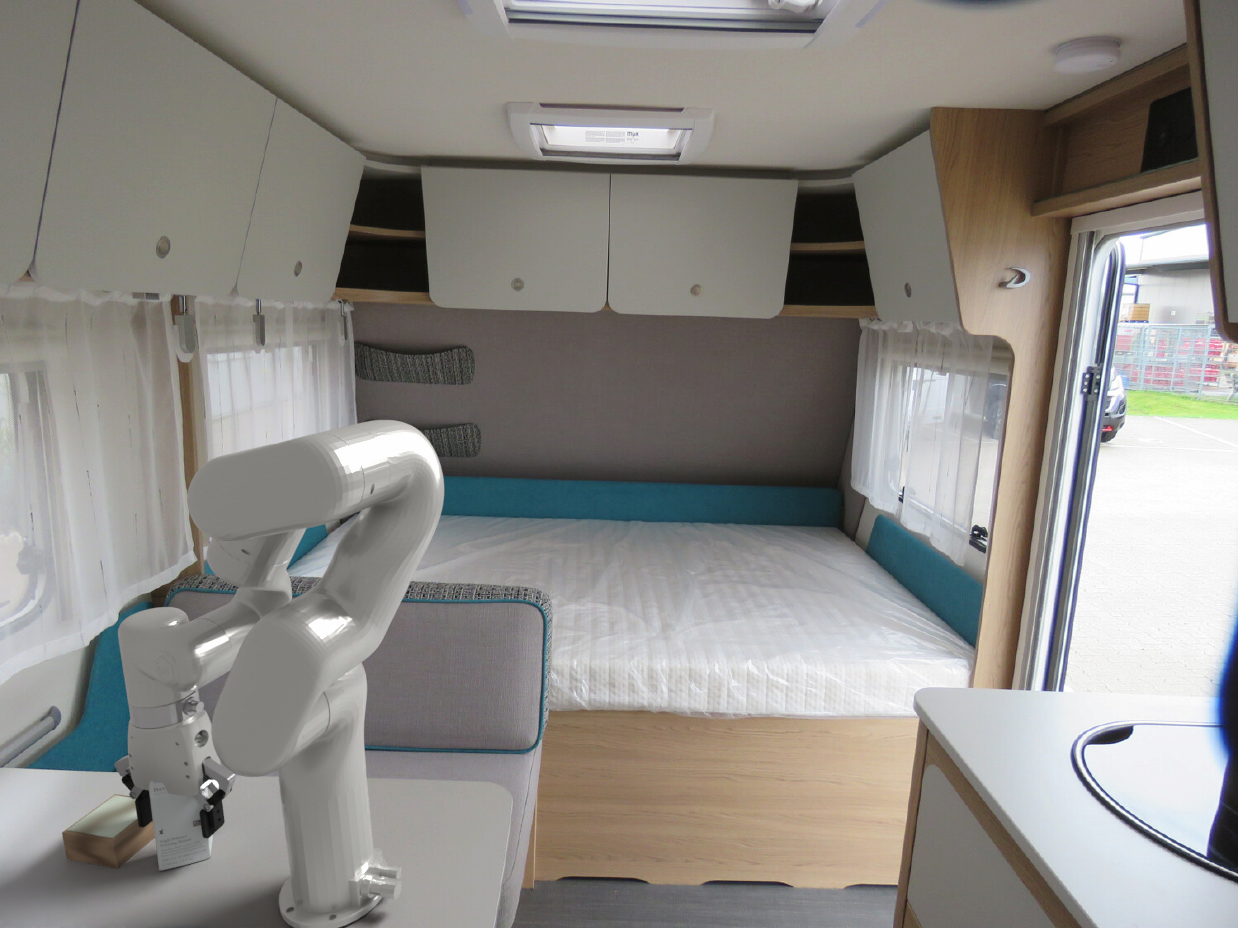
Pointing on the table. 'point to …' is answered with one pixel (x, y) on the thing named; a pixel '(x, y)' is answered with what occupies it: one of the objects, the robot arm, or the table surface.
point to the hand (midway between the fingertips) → (182, 825)
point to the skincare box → (177, 828)
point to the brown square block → (107, 834)
